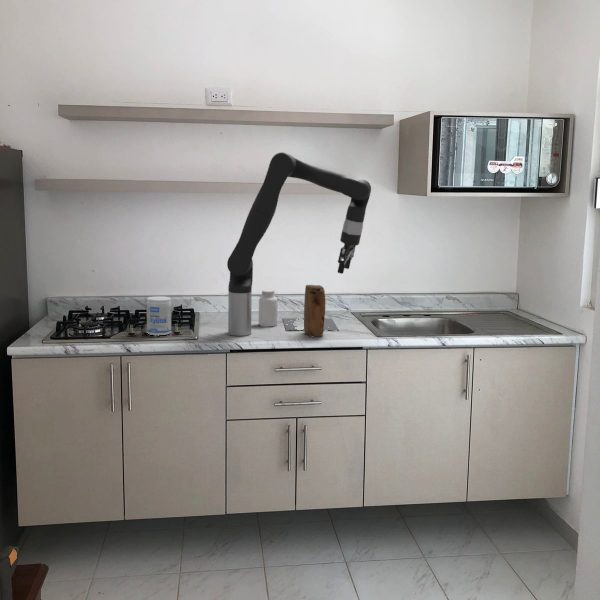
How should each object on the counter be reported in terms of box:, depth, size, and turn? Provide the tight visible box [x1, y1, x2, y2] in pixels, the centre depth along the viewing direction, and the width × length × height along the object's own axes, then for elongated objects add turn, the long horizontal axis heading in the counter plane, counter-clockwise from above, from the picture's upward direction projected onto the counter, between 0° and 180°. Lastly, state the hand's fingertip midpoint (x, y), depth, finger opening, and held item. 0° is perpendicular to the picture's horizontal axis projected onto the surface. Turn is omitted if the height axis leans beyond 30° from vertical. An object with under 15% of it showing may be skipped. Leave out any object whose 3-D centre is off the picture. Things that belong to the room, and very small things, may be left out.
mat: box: [282, 317, 340, 332], centre depth 319 cm, size 22×24×1 cm
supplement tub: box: [146, 295, 172, 336], centre depth 295 cm, size 10×10×15 cm
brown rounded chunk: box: [303, 284, 326, 338], centre depth 299 cm, size 11×8×20 cm
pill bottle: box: [258, 289, 278, 328], centre depth 316 cm, size 8×8×15 cm
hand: (343, 270), depth 293 cm, fingers open, 8 cm apart
